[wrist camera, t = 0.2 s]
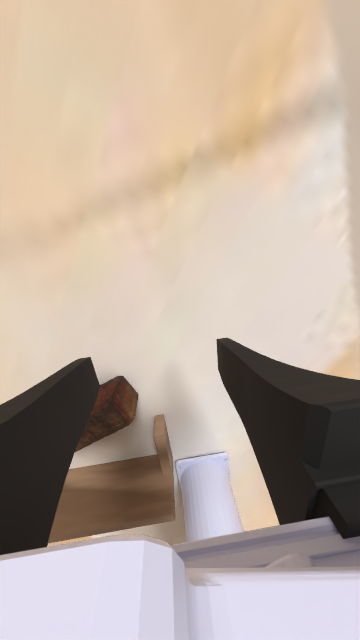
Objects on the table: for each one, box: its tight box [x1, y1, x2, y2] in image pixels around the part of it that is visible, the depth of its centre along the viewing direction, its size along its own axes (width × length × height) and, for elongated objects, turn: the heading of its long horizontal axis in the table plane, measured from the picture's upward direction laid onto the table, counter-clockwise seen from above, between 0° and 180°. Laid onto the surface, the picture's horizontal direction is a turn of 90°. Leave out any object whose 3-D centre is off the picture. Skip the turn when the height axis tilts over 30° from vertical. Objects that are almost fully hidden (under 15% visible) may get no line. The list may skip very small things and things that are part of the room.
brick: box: [75, 376, 138, 452], centre depth 22 cm, size 11×4×5 cm, turn 120°
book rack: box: [48, 415, 175, 543], centre depth 23 cm, size 9×16×7 cm, turn 97°
